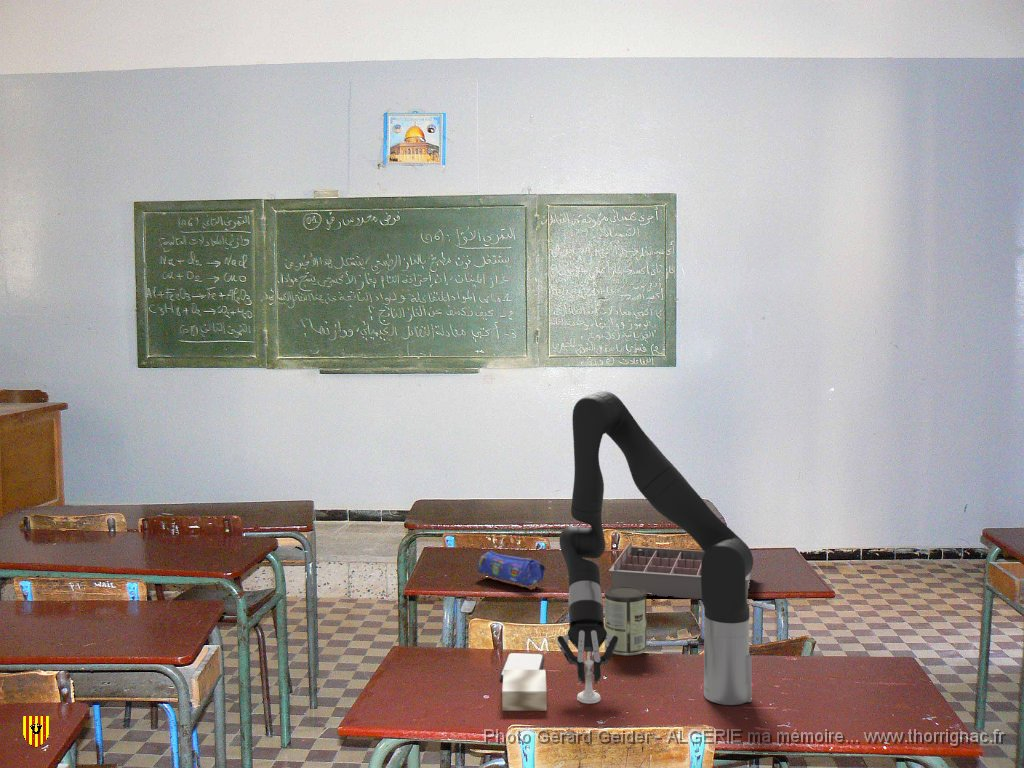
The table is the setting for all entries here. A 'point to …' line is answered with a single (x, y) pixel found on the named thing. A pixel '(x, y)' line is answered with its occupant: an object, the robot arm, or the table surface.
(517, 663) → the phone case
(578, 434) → the robot arm
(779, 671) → the table surface
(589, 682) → the chess piece
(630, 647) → the coffee can
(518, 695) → the birch stand
